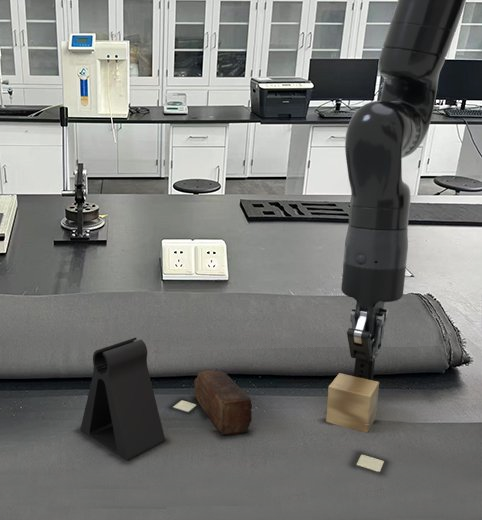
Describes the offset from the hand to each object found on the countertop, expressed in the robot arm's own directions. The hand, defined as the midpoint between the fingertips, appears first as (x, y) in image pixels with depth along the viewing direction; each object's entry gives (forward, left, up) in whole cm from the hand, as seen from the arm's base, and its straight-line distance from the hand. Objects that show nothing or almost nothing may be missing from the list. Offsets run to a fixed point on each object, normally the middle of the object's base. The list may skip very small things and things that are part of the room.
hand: (363, 383), depth 73 cm
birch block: (0, +6, -3) cm, 7 cm away
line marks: (+7, +15, -3) cm, 17 cm away
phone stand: (+22, +26, -3) cm, 34 cm away
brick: (+14, +15, -3) cm, 21 cm away
